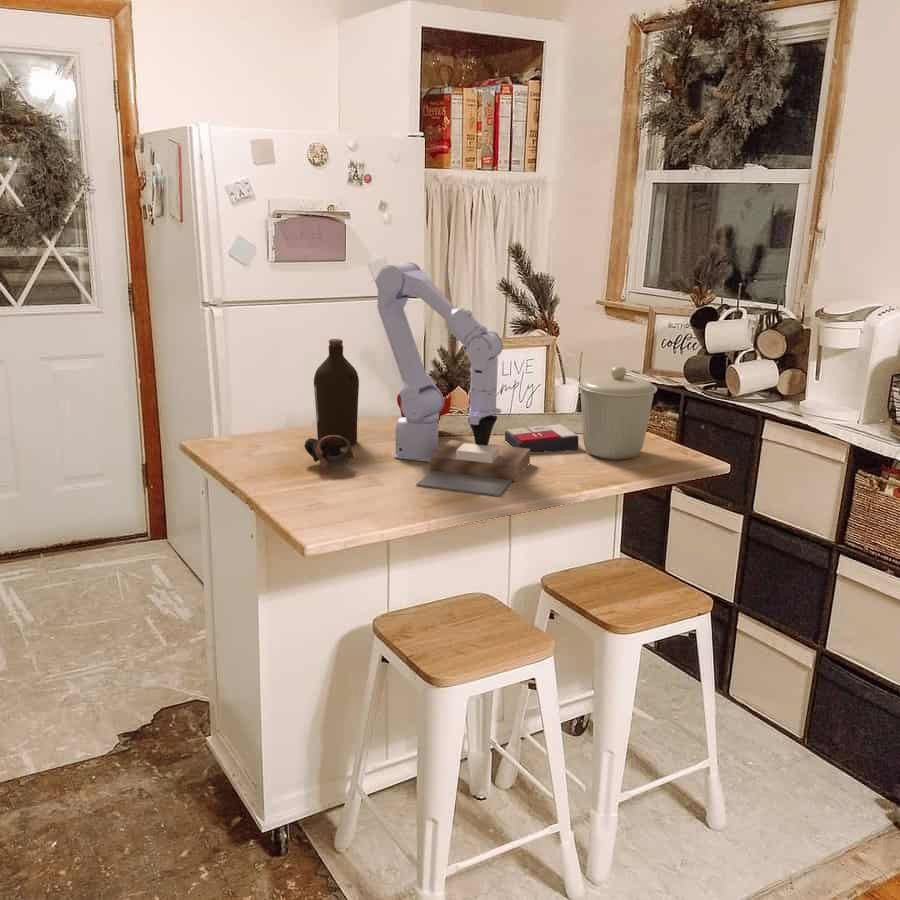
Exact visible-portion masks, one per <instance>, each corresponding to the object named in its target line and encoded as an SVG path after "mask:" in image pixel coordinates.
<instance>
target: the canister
mask: <svg viewBox="0 0 900 900" xmlns="http://www.w3.org/2000/svg"><path fill="white" fill-rule="evenodd" d="M577 386H578V389H580V404H581V407H580V408H581V409H580V410H581V424H582V438H583V439H582V440H583V441H582V442H583V445H584V448H585V450H586V451H587V452H588V453H589V454H590V455H592V456H595V457H597V458H602V459H605V460H617V461H618V460H628V459H633V458H634V457H636V456H638V455H639V454H640V453H641V451H642V449H643V447H644V442H645V438H646V435H647V430H648V427H649V426H648V424H649V421H650V414H651V411H652V410H651V409H652V404H653V400H654V394H656V393H657V391H658V387H657V386H656V385H655V384H652V382H651V381H649V380H646V379H644V378H641V377H637V376H632V375H627V370H626V368H625V367H624V366H621V365H615V366H612V368H611V369H610V374H598V375H597V374H596V375H591V376H589V377H586V378H585V379H584V380H580V381H579V382H578V383H577Z"/></svg>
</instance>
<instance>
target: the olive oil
mask: <svg viewBox="0 0 900 900" xmlns="http://www.w3.org/2000/svg"><path fill="white" fill-rule="evenodd" d="M343 343H344V342H343V339H339V338H331V339H329V340H328V344H329V345H328V356H327V357H326V359H325V360H324V361H323V362H322V363H321V364H320V365H319V366H318V368H316V371H315V373H314V377H313V389H314V402H315V403H314V404H315V417H316V433H317V440H320V439H322V438H323V437H325V436H328V435H338V436H341V437H344V438H346V439H347V440H348V441H349V442H350V445H351V447H352V446H355V445H356V444H357V442H358V411H359V392H360V390H359V388H360V378H359V375H358V372H357V370H356V368H355V367H354V366H353V365H352V364H351V363H350V361H348V359H346V357H345V356H344V345H343ZM324 444H325V443H323V444H322V445H324ZM342 448H347V446H346V444H345V445H342V447H341V449H342Z"/></svg>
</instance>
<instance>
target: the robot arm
mask: <svg viewBox="0 0 900 900" xmlns="http://www.w3.org/2000/svg"><path fill="white" fill-rule="evenodd" d="M374 283H375V285H376V289H377V311H378V314H379V316H380V318H381V322H382V325H383V328H384V331H385V334H386V336H387V339H388V343H389V345H390V348H391V351H392V354H393V356H394V359H395V362H396V364H397V367H398V371H399V373H400V377H401V379H402V385H401V387H400V390H399V393H400V396H401V409H402V412H403V414H404V416H405V417H402V416H401V417H399V418H398V421H397V422H396V426H395V455H394V458H395V459H401V460H409V461H411V460H412V461H419V462H427V463H428V462H429V463H430V456H432V455H433V454H434V453H435V452H437V451H438V450H439V432H438V419H439V412H440V411H441V410H442V408H443V406H444V397H443V394H442V393H441V391H442V390H441V391H440V389H439V388H438V387H437V385H436V381H435V380H434V379H433V378H432V377H430V376H429V375H428V374H427V373H426V370H425V368H424V365H423V361H422V358H421V355H420V353H419V350H418V348H417V344H416V341H415V338H414V335H413V332H412V329H411V327H410V324H409V321H408V318H407V315H406V312H405V310H404V309H405V306H406V304H407V302H408V301H409V299H410V297H411V296H412V297H418V298H420V299H421V300H422V301H423V302H425V303H426V304H427V305H428V306H429V307H430V308H431V309H433V310H434V311H435V312H436V313H437V314H439V316H441V318H443V319H444V322H445V323H444V324H445V328H446V329H447V330H448V331H449V332H450V333H451V334H452V335H453V336H454V337H455V338H456V339H457V340H458V341H459V342H460V343H461V344H462V345H463V346H464V347H465V348H466V349H465V350H466V354H467V356H468V357H469V359H470V394H469V397H470V400H469V407H468V413H469V416H468V419H467V422H468V425H469V426H470V428H471V430H472V433H473V437H474V443H475V444H478V445H487V446H488V444H489V443H490V439H491V434H492V430H493V427H494V425H495V424H496V421H497V419H498V416H497V415H498V414H501V413H502V409H501V408H499V407H498V408H497V395H498V392H497V391H498V364H499V362H498V361H499V357H498V356H500V355H501V353H502V351H503V347H504V346H503V345H504V343H503V341H502V339H501V338H502V337H500V336H499V333H497V332H496V331H491V330H488V328H487V326H485V325H482V324H481V323H480V322H479V321H478V320H477V319H476V318H475V317H474V316H473V312H472V311H471V310H470V309H465V308H463V307H462V308H457V307H456V306H454V304H453V303H452V302H451V301H450V300H449V299H448V298H447V296H445V294H444V293H443V292H442V291H441V290H440V289H439V288H438V287H437V285H435V284H434V282H433V281H432V280H431V279H430V278H429V276H428V273H427V272H426V271H424V270H423V269H421V268H420V266H419V265H418V264H417V263H415V262H412V261H410V262H409V261H407V262H404V263H398V264H387V265H384V266H382V268H380V270H379V272H378V273H377V275H376V278H375V280H374ZM496 414H497V415H496Z"/></svg>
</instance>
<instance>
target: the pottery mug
mask: <svg viewBox="0 0 900 900" xmlns="http://www.w3.org/2000/svg"><path fill="white" fill-rule="evenodd" d="M323 443H325V444H324V445H322V444H323ZM345 444H346V446H347V447H346V450H345V451H343V450H342V448H343V447H342V445H345ZM341 447H342V448H341ZM304 448H305V451H306V452H307V453H308V454H309V456H311V457H312V458H313V461H314V463H315V462H318V461H319V465H318V471H319V472H321V473H322V474H326V472H327V471H330V470H334V469H338V468H340V467H341V468H342V467H344V466H345V464H348V463H349V462H351V460H352V459H355V456H354V453H353V447H352V446H351V445H350V442H349V441H348V440H347V439H346V438H344V437H341V436H338V435H328V436H325V437H323V438H322V439H320V440H318V438H313V437H311V438H308V439H306V441H305V443H304Z"/></svg>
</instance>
